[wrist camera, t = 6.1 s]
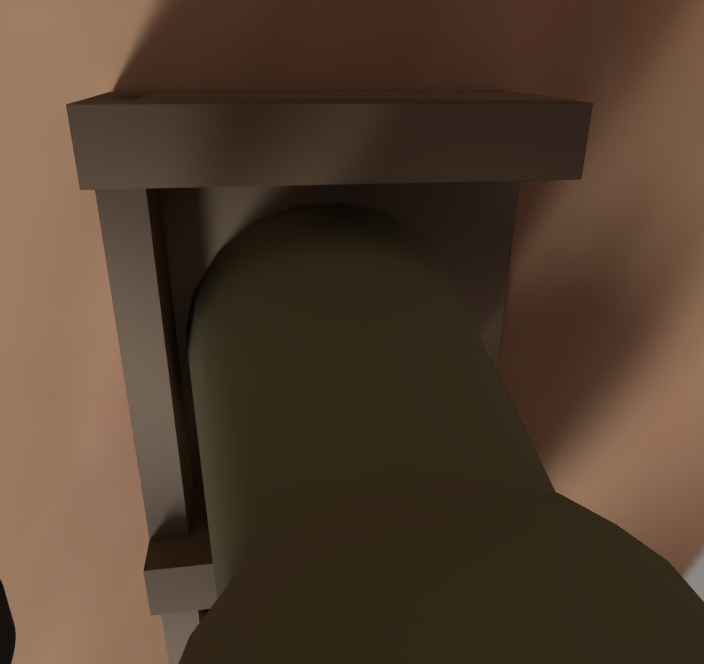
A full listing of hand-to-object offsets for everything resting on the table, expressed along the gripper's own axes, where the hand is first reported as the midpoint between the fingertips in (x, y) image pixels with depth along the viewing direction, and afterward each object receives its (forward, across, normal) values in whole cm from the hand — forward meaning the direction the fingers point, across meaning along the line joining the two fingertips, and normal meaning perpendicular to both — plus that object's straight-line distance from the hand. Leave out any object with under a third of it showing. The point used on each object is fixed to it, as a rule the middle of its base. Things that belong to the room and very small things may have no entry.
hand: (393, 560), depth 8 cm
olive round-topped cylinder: (+7, 0, 0) cm, 7 cm away
